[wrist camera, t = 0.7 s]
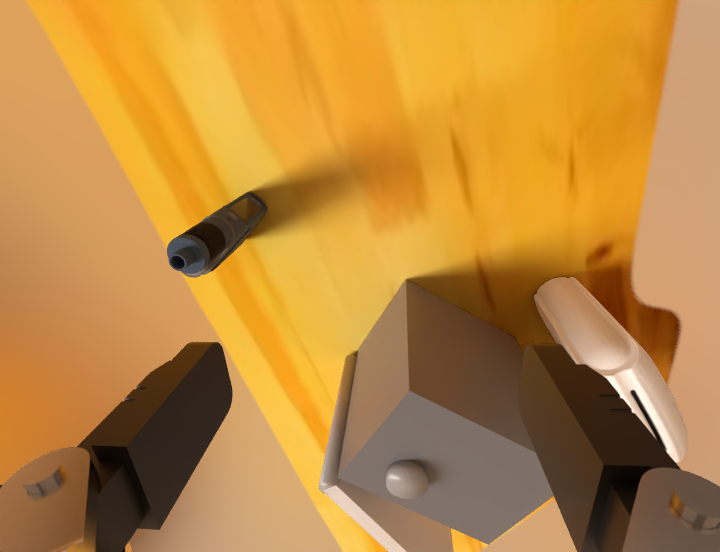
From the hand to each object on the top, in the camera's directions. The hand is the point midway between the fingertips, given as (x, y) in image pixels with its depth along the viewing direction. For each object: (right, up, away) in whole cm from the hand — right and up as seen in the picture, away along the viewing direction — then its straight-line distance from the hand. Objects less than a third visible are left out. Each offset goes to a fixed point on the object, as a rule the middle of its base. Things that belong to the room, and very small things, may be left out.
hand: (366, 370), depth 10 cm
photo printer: (+19, -2, +24) cm, 30 cm away
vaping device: (-10, +8, +22) cm, 26 cm away
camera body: (+8, -5, +26) cm, 28 cm away
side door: (+3, -12, +30) cm, 32 cm away
